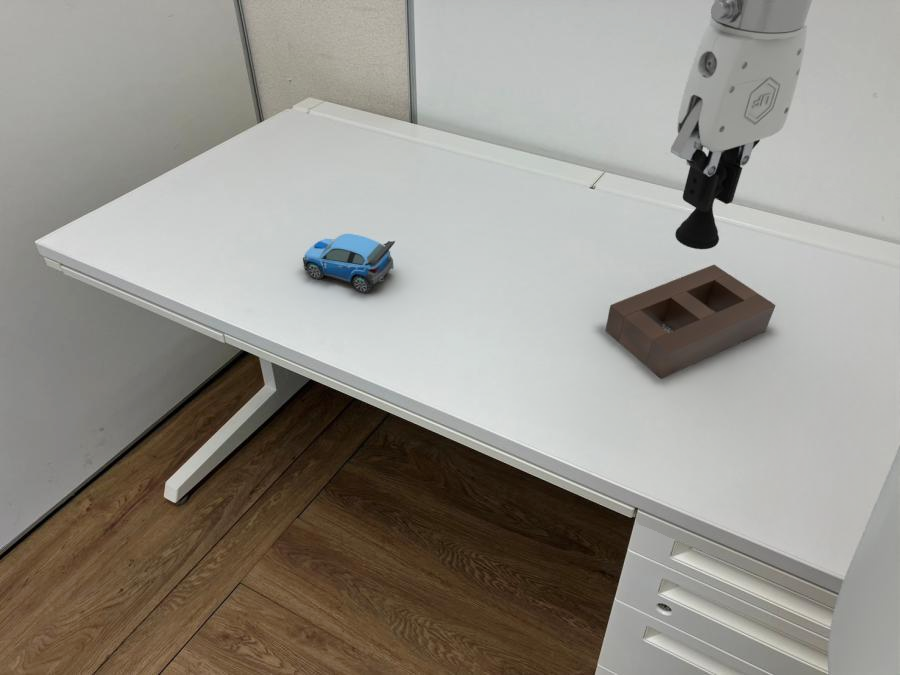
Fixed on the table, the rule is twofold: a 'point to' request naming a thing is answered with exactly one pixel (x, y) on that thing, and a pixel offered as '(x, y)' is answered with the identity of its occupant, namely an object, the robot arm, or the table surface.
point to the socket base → (688, 319)
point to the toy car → (350, 260)
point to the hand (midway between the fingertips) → (707, 200)
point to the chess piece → (702, 221)
